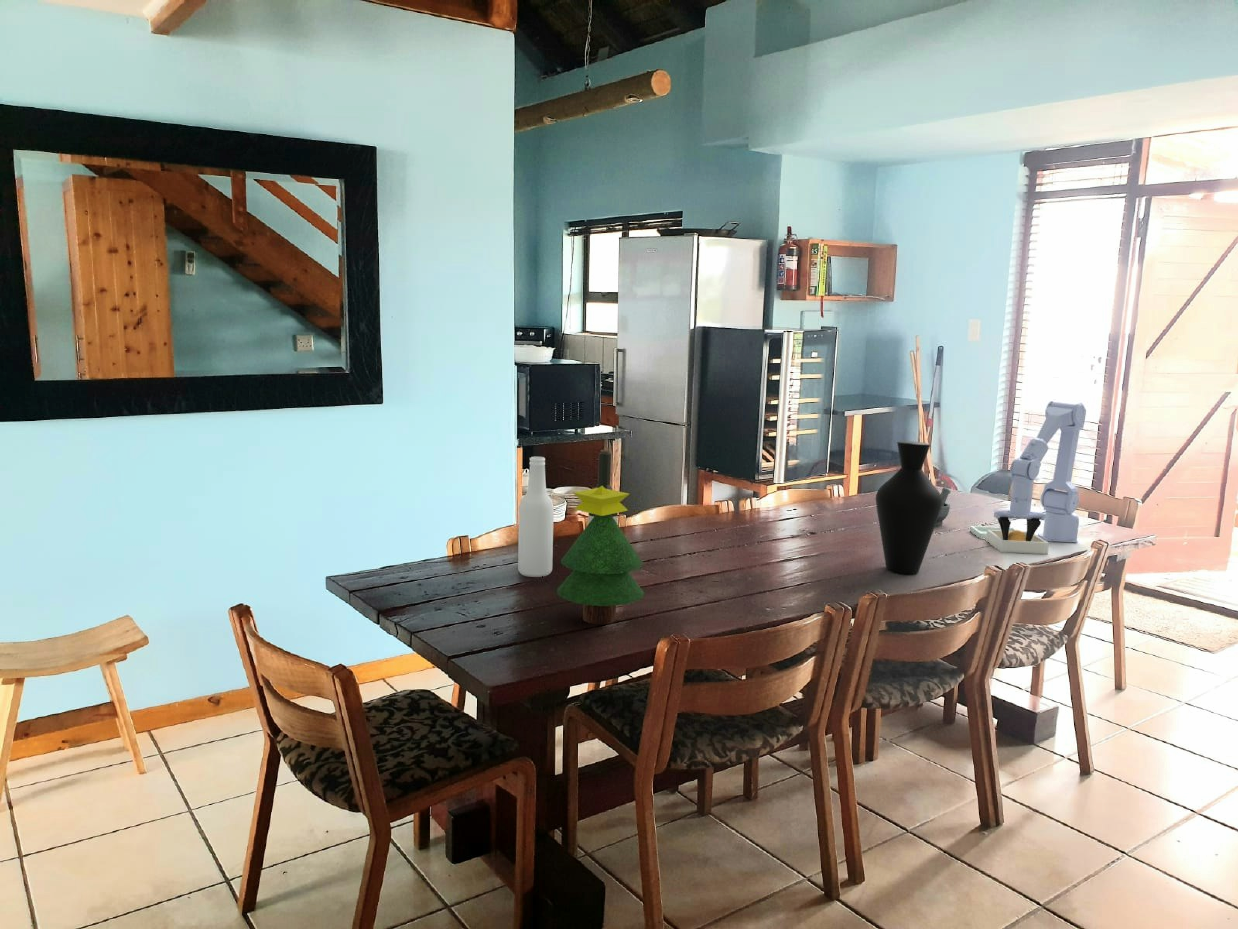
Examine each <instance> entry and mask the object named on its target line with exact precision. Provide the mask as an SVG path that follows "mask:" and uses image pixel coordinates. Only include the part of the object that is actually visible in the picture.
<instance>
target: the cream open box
mask: <svg viewBox="0 0 1238 929" xmlns="http://www.w3.org/2000/svg"><path fill="white" fill-rule="evenodd" d="M1020 531H1021V530H1020ZM1011 532H1012V531H1009V533H1008V536H1009V534H1010V533H1011ZM1021 532H1023V533H1024V534H1025V536H1026V533H1027V531H1021ZM985 541H986V542H987V541H988V542H989V543H990V544H989V543H988V542H987V543H988V544H989V545H991V544H992V545H991V546H992V547H993V546H994V547H993V548H995V549H996V548H997V549H998V550H997V549H996V550H997V551H999V552H1000V551H1001V552H1000V553H1011V554H1033V555H1048V553H1049V546H1050V545H1049V544H1050V542H1049V541H1047V540H1045V539H1043V538H1042V537H1040V536H1039V535H1038V534H1035V533H1034V535H1033V537H1032V540H1031V541H1011V540H1003V536H1002V531H1001V530H987V535H986V539H985Z"/></svg>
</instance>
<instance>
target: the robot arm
mask: <svg viewBox="0 0 1238 929" xmlns="http://www.w3.org/2000/svg"><path fill="white" fill-rule="evenodd" d="M1085 407H1086V406H1084V404H1083V402H1071V401H1064V400H1056V399H1051V400H1050V401H1049V402H1048V403H1047V404H1046V408H1045V411H1044V412H1045V420H1044V422H1043V424H1042V426H1041V428H1040V430H1039V432H1038V434H1037V436H1036V438H1032V439H1030V440H1029V442H1028V444H1027V445H1026V446H1025V448H1024V450H1023V451H1022V453H1021V455H1020V456H1019V457H1018V458H1016V459H1014V460H1013V461H1012V462H1011V464H1010V468H1009V473H1010V476H1011V477H1010V478H1011V479H1010V480H1011V482H1012V487H1011V497H1010V503H1009V504H1010V505H1009V510H1008V509H1007V510H994V511H993V517H994V518H995V519H997V522H998V524H999V527H1001V531H1002V536H1003V540H1008V533H1009V528H1011V523H1012V522H1011V521H1010V519H1016V520H1018V519H1019V520H1026V532H1027V533H1026V541H1031V540H1032V537H1033V535H1034V534H1035V532H1036V531H1037V530H1038V528H1039V527H1040V526H1041V523H1042V521H1044V523H1043V532H1042V533H1038V534H1037V536H1039V537H1040V538H1042V539H1043V540H1045V541H1047V542H1060V543H1061V542H1062V543H1064V542H1065V543H1079V542H1078V532H1079V527H1080V526H1079V525H1080V518H1079V515H1078V513H1076V512H1075V511H1076V510H1077V509H1078V507H1079V503H1080V502H1079V501H1080V499H1079V492H1080V491H1079V489H1078V487H1077V486H1075V485H1074V483H1072V477H1073V472H1074V466H1075V460H1076V454H1077V449H1078V441H1079V437H1080V431H1081V430H1083V429H1084V425H1085V420H1086V417H1087V416H1086V415H1087V410H1086V408H1085ZM1058 430H1060V437H1059V443H1058V444H1059V445H1058V449H1057V454H1056V461H1055V467H1054V473H1053V478H1052V480H1051V481H1049V482H1048V483H1046V484H1044V487H1043V491H1042V493H1041V495H1040V504H1041V506H1042V507H1043V511H1045V513H1044V512H1036V511H1031V509H1032V508H1031V507H1032V500H1033V490H1034V483H1035V482H1034V481H1035V479H1036V478H1037V477H1038V475H1039V473H1040V470H1041V465H1042V463H1041V461H1042V460H1043V459H1044V457H1045V456H1046V454H1047V453H1048V451H1049V446H1048V443H1049V442H1050V441H1051V439H1052V438H1053V437H1054V436H1055V434H1056V433H1057V432H1058Z"/></svg>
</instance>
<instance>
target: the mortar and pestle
mask: <svg viewBox="0 0 1238 929" xmlns="http://www.w3.org/2000/svg"><path fill="white" fill-rule="evenodd" d="M950 493H951V490H950V489H949V488H946V487H942V488H941V493H940V495H941V497H942V507H941V510H940V513H939V516H938V519H937V522H936V525H935V527H942V526H943V525H942V524H943V523H944V522H943V521H945V519H946V518H947V517H948V515H949V512H950V509H951V508H950V507H951V504H949V503H947V500H948V496H949V494H950Z"/></svg>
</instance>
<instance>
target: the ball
mask: <svg viewBox="0 0 1238 929" xmlns="http://www.w3.org/2000/svg"><path fill="white" fill-rule="evenodd" d="M1023 532H1024V531H1023ZM1023 532H1021V530H1019V529H1017V530H1014V531H1012V532H1011V533H1010V534H1009V536H1008V540H1011V541H1026V536H1025V534H1024V533H1023Z"/></svg>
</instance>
